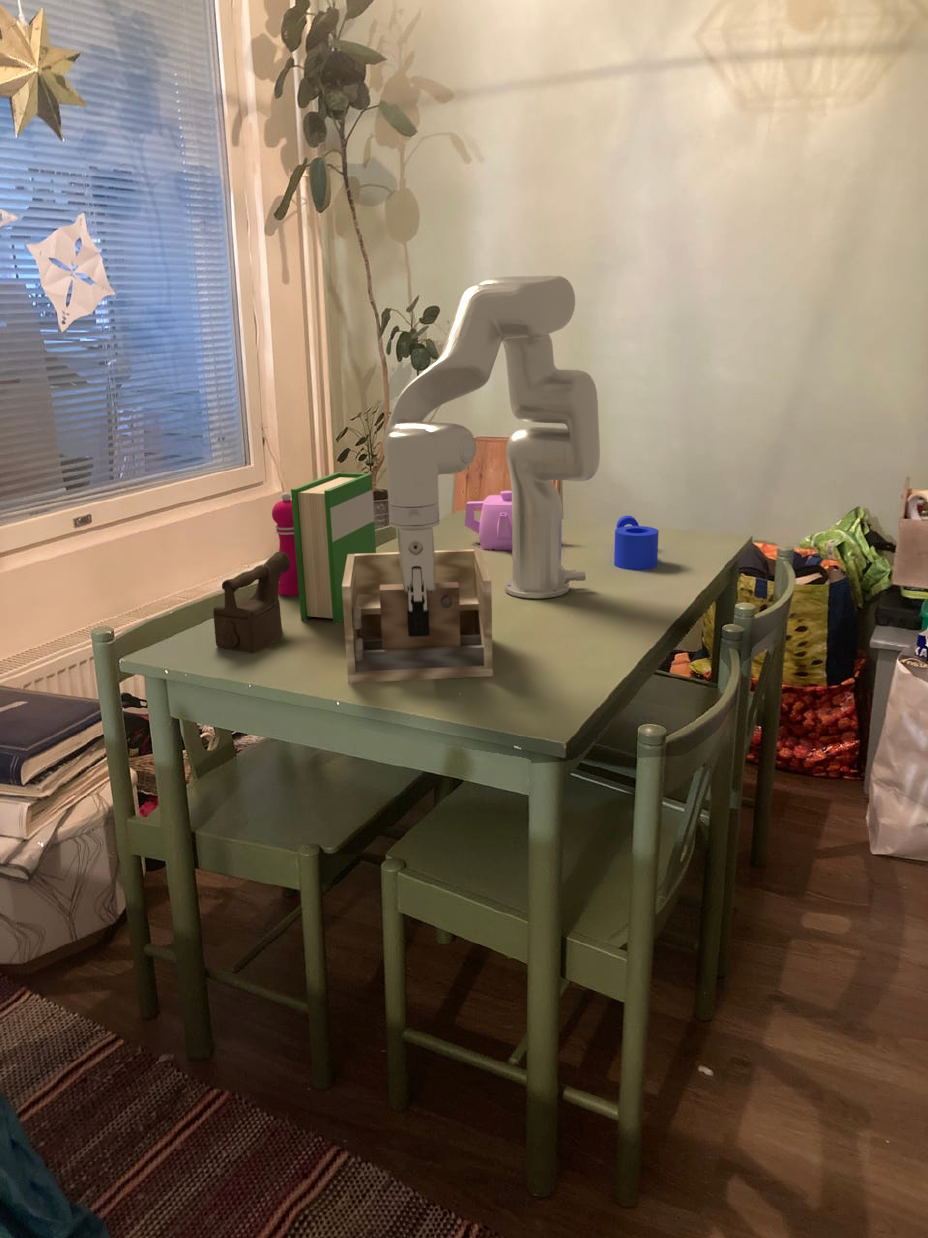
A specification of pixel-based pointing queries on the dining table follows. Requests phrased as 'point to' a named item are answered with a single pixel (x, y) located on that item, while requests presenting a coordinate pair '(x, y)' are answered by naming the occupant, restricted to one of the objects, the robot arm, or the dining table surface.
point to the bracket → (635, 545)
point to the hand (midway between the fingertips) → (418, 630)
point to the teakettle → (492, 521)
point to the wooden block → (438, 603)
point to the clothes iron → (252, 608)
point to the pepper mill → (286, 544)
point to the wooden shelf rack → (416, 662)
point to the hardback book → (330, 537)
